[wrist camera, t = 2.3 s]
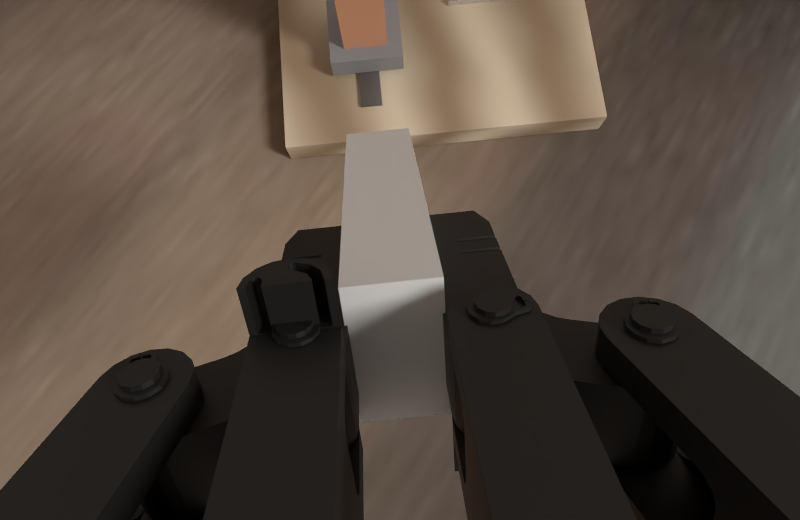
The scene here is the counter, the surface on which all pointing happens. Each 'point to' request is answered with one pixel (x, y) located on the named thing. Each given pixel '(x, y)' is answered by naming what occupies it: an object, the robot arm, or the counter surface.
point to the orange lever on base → (364, 36)
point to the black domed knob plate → (467, 2)
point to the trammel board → (444, 75)
